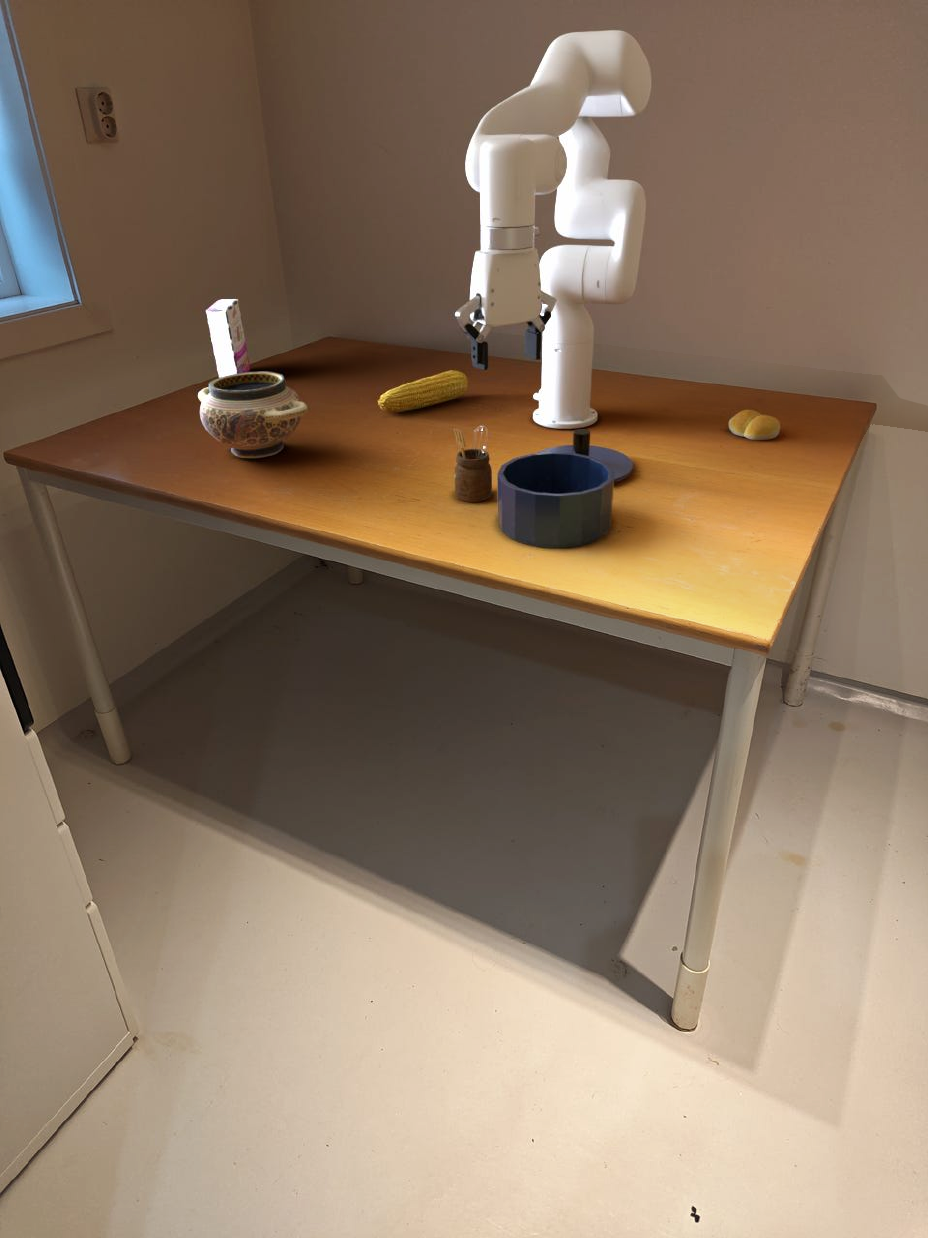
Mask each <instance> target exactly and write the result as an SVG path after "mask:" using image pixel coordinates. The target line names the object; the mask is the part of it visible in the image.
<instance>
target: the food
mask: <svg viewBox="0 0 928 1238" xmlns="http://www.w3.org/2000/svg"><path fill="white" fill-rule="evenodd" d="M468 381H469V380H468V377H467V376H466V375H465V373H463V372H461V371H459V370H452V369H450V370H448V371H443V372H442V373H441V372H440V373H437V374H434V375H431V376H427V377H424V378H421V379H418V380H417V379H416V380H415V381H412V382H407V383H406V384H405V383H403V384H401V385H399V386H396V387H393V388H391V389H389V390H387V391H386V392H385V393H383V394H382V395H380V397H379V399H378V400H377V404H378V405H377V406H378V407H380V410H382V411H384V412H385V413H387V412H388V413H400V412H401V413H402V412H407V411H413V410H418V409H423V408H428V407H431V406H434V405H436V404H441V403H445V402H448V401H451V400H455V399H458V398H460V397H461V396H464V395H465V394H466V393H467V392H468V387H469V382H468Z"/></svg>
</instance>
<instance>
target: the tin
mask: <svg viewBox="0 0 928 1238" xmlns="http://www.w3.org/2000/svg"><path fill="white" fill-rule="evenodd" d="M614 475H615V472H614V471H613V469H612V468H611V467H610V466H609V465H608V464H607V463H605V462H603V461H600V460H598V459H596V458H594V457H590V456H585V455H581V454H576V453H565V452H544V453H538V452H534V453H528V454H524V455H521V456H518V457H514V458H511V459H510V460H508V461H506V462H504V463H503V464H501V466H500V468H499V470H498V472H497V475H496V477H497V479H496V480H497V481H496V482H497V487H496V488H497V522H498V526H499V527H498V528H499V529H500V531H501V532H502V533H503V534H504V535H505V536H506V537H508V538H509V539H511V540H513V541H516V542H517V543H521V544H523V545H527V546H532V547H537V548H545V549H563V548H564V549H566V548H574V547H581V546H585V545H588V544H591V543H595V542H596V541H599V540H600V539H602V538H604V537H605V536H606V535H607V534H608V533H609V531H610V530H611V529H610V528H611V522H612V517H613V516H612V513H613V500H614V488H615V482H614Z"/></svg>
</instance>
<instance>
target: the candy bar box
mask: <svg viewBox="0 0 928 1238" xmlns="http://www.w3.org/2000/svg"><path fill="white" fill-rule="evenodd" d="M240 308H241V307H240V302H239V299H238V298H237V299H236V298H231V299H230V298H228V299H218V300H217V301H216V302H214V303H213V304H212V305H211V306H210V307H208V308H207V309H206V310H205V313H206V318H207V319H206V320H207V324H208V328H209V333H210V338H211V343H212V349H213V354H214V359H215V365H216V370H217V374H218V378H220V377H224V376H228V375H233V374H238V373H246V372H250V370H251V366H250V365H251V364H250V359H249V354H248V348H247V342H246V337H245V330H244V326H243V325H244V324H243V319H242V314H241V309H240Z"/></svg>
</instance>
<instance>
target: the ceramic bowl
mask: <svg viewBox="0 0 928 1238" xmlns="http://www.w3.org/2000/svg"><path fill="white" fill-rule="evenodd" d="M197 397H198V400H199V401H200V402H201V404H200V407H199V416H200V420H201V424H202V426H203V427H204V429H205V430H206V432H208V434H209V435H210V436H211V437H213V438H214V439H215V440H216V441H218V442H219V443H221V444H223V445H224V446H226V447H229V448H230V452H231V453H232V454H233V455H234V456H236V457H237V458H241V459H261V458H262V459H263V458H266V457H271V456H274V455H276V454H278V453H280V452H281V451H282V450H283V449H284V448H285V444H284V441H285V440H287V439H288V438H289V437H290V436H292V434H293V433H294V432H295V430H296V429H297V427H298V426H299V425H300V422H301V419H302V416H304V415H306V414H307V413H308V411H309V408H308V405H307V404H306V403H305V402H303V401H302V400H301V398H300V396H299V395H298V394H297V392H296V391H295V390H294V389H292V388H291V387H289V386H287V384H286V378H285V376H284V375H283V374H281V373H278V372H273V371H265V370H264V371H249V372H246V373H238V374H233V375H228V376H224V377H220V378H219V377H217V378H215V379H213V380H211V381H210V382H209V383H208V387H204V388H202V389H201V390H200V391H199V392H198V394H197Z"/></svg>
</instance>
